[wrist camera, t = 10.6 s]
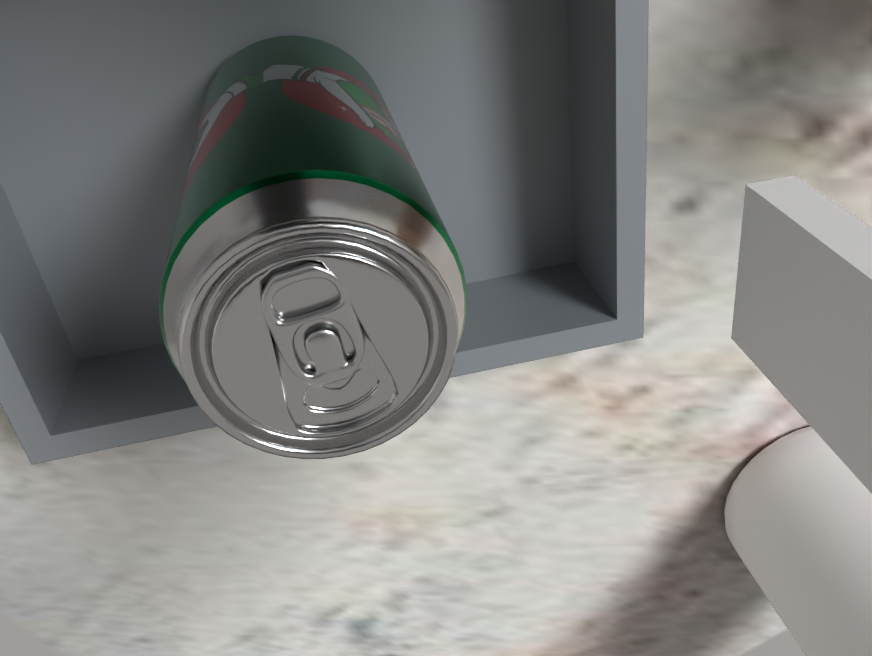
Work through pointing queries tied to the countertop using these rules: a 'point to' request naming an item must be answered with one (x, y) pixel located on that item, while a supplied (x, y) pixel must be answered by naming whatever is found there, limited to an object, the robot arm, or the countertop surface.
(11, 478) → the countertop surface
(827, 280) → the robot arm
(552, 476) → the countertop surface
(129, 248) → the bin
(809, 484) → the milk bottle
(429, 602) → the countertop surface
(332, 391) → the soda can
